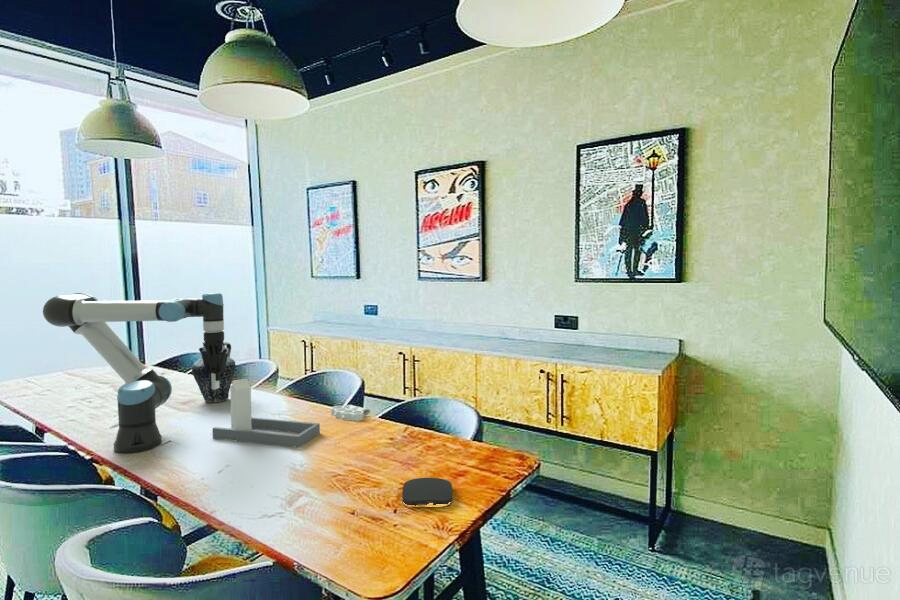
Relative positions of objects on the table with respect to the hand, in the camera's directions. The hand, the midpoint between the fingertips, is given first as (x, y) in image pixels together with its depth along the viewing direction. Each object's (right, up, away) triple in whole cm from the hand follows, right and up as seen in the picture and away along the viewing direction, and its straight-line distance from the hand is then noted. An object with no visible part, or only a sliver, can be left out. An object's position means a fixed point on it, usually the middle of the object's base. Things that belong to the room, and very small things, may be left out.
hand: (215, 388), depth 200 cm
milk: (+11, -18, -2) cm, 21 cm away
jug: (-22, -14, +45) cm, 52 cm away
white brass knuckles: (+50, -17, +23) cm, 58 cm away
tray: (+22, -18, -4) cm, 29 cm away
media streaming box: (+89, -23, -54) cm, 107 cm away
